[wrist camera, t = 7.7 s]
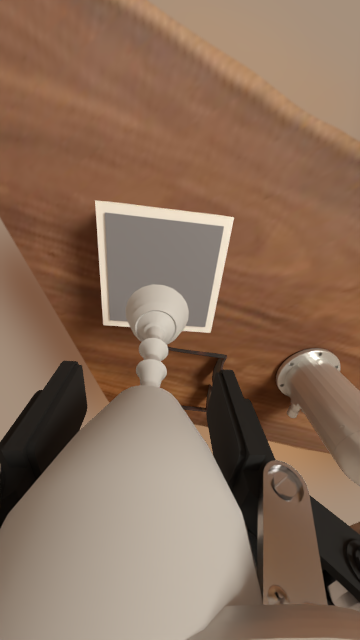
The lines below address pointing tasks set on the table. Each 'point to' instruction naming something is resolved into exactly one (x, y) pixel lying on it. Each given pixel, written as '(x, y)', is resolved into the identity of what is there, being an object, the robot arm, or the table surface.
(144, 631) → the chalice
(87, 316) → the table surface
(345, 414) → the robot arm
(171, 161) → the table surface
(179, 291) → the display plinth
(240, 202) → the table surface
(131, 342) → the table surface
